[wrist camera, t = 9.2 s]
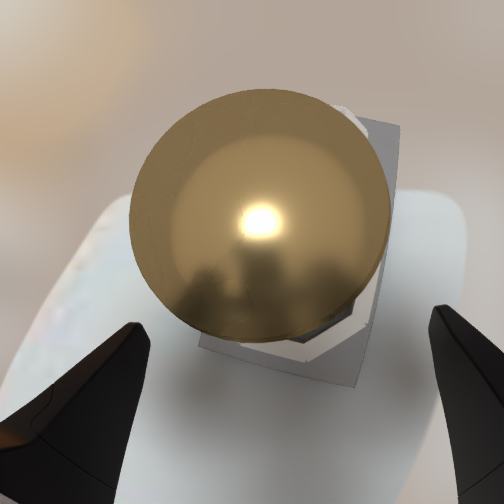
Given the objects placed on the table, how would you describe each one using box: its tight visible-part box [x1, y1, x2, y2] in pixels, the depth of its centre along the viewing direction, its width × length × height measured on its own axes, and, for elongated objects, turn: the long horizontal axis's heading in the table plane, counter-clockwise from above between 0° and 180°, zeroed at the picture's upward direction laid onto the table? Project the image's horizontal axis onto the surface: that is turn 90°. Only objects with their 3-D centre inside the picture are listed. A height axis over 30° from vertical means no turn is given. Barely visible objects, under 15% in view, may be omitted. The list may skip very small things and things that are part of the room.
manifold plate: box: [198, 104, 400, 388], centre depth 17 cm, size 16×9×4 cm, turn 165°
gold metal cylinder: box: [129, 89, 391, 343], centre depth 11 cm, size 5×5×12 cm
